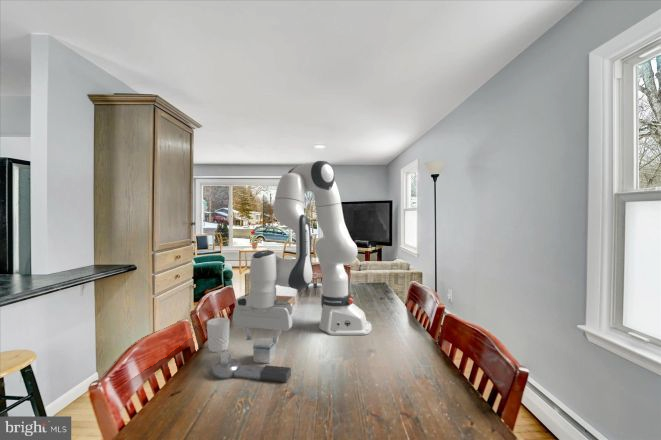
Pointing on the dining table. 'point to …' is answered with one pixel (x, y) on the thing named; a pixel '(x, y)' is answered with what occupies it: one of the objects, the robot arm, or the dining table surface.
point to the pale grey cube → (264, 350)
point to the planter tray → (286, 299)
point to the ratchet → (248, 370)
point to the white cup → (218, 334)
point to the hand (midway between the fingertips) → (262, 340)
